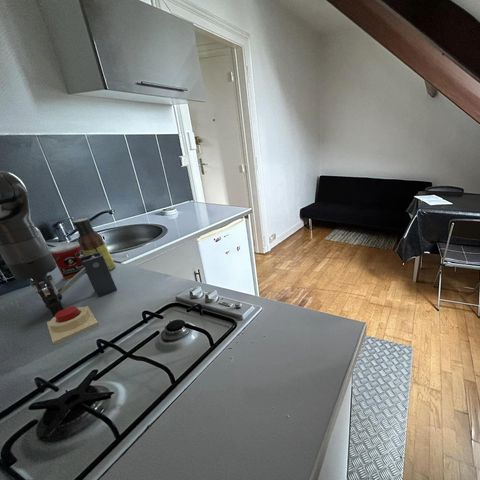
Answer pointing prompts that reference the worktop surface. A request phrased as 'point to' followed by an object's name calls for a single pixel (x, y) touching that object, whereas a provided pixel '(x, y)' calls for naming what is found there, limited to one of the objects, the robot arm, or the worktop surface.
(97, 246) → the sauce bottle
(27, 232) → the robot arm
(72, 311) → the button
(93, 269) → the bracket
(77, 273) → the lever
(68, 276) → the canned food
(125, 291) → the worktop surface
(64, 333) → the button box
